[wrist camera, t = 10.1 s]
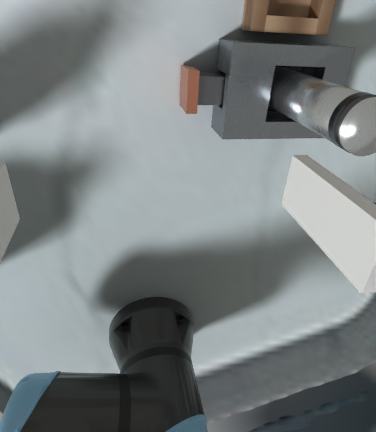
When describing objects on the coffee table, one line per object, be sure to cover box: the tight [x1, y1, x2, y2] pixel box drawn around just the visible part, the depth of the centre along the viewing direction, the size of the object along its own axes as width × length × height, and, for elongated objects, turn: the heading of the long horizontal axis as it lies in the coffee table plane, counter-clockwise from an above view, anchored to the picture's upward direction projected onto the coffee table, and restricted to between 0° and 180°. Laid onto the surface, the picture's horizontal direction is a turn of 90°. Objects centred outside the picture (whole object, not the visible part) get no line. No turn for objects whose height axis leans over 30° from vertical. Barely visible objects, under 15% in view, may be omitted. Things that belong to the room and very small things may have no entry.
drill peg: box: [268, 67, 376, 156], centre depth 33 cm, size 5×5×18 cm
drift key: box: [180, 65, 226, 114], centre depth 37 cm, size 8×4×4 cm, turn 87°
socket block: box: [211, 39, 355, 139], centre depth 38 cm, size 14×10×5 cm
